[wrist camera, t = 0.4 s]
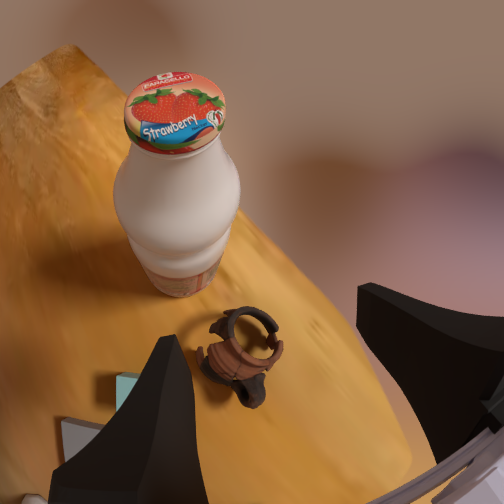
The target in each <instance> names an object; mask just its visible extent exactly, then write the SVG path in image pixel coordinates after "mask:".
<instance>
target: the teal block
mask: <svg viewBox="0 0 504 504" xmlns="http://www.w3.org/2000/svg"><path fill="white" fill-rule="evenodd" d="M139 376H140V374H138V373H130V372H124V373H122V374H119V375H117V376H116V412H117V411H118V409H119V408H120V407H121V405H122V404H123V402H124V401H125V399H126V398H127V396H128V395H129V393H130V391H131V390H132V388H133V386H134V385H135V383H136V382H137V380H138V378H139Z"/></svg>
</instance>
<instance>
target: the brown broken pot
mask: <svg viewBox="0 0 504 504" xmlns="http://www.w3.org/2000/svg"><path fill="white" fill-rule="evenodd" d="M223 313H224V314H226V315H227V316H228V317H223V318H220V319H219V320H218V321H217V322H215V323H213V324H212V325H211V327H210V329H209V333H216V334H217V335H219V336H220V337H221V338H222V339H224V341H222V342H218V343H214V344H210V345H209V347H208V349H207V353H208V356H206V357H205V358H204V354H203V347H202V346H199V347H198V349H197V351H196V359H197V363H198V365H199V367H200V369H201V371H202V372H203V374H204V375H205V376H206V377H207V378H209V379H210V380H212V381H213V382H216V383H219V384H223V385H227V386H231V388H232V389H233V390H234V391H235V392H236V394H237V396H238V398H239V400H240V402H241V404H242V405H243V406H245V407H248V408H251V409H255V408H257V407H258V406H259V405H261V404H262V403H263V402H264V400H265V395H266V394H265V387H264V379H265V374H264V373H261V372H263V371H264V369H265V370H266V371H269V370H270V369H271V368H272V366H273V365H274V363H275V362H276V361H277V360H278V359H279V358H280V356H281V354H282V351H283V341H281V340H279V341H278V340H277V337H276V334H275V332H277V331H278V329H279V327H278V325H277V324H276V322H275V321H274V320H273V319H272V318H271V317H270V316H269V315H268V314H267V313H265V312H264V311H262V310H259V309H257V308H255V307H249V306H245V307H241V308H238V309H231V310H226V311H223ZM241 315H250V316H253V317H254V318H256V319H258V320H259V321H260V322H261V323H262V324H263V325H264V327H265V328H266V330H267V332H268V333H269V335H268V337H267V339H266V343H267V344H268V346H269V348H270V349H271V350H273V349H274V352H273V354H272V356H271V357H269V358H267V359H257V358H254V357H252V356H250V355H249V354H247V353H246V352H245V351H243V349H242V348H241V347H240V345H239V344H238V342H237V340H236V338H235V336H234V324H235V321H236V319H237V318H238V317H239V316H241ZM234 377H236V379H238V380H233V378H234Z"/></svg>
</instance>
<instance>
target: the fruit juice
mask: <svg viewBox="0 0 504 504" xmlns="http://www.w3.org/2000/svg"><path fill="white" fill-rule="evenodd" d="M225 113H226V104H225V99H224V96H223V94H222V92H221V90H220V89H219V88H218V87H217V86H216V85H215V84H214V83H213V82H211V81H210V80H208V79H206V78H205V77H202V76H199V75H196V74H192V73H186V72H172V73H165V74H161V75H157V76H154V77H152V78H149V79H148V80H146V81H144V82H142V83H141V84H139V85H138V86H137V87H136V88H135V89H134V90H133V91H132V92H131V94H130V95H129V97H128V98H127V101H126V103H125V108H124V124H125V129H126V132H127V134H128V136H129V139H130V141H131V142H132V143H131V146H130V150H129V153H128V155H127V157H126V158H125V159H124V161H123V162H122V164H121V166H120V168H119V170H118V172H117V175H116V178H115V182H114V189H113V200H114V207H115V211H116V214H117V217H118V219H119V222H120V224H121V226H122V227H123V229H124V230H125V232H126V233H127V237H128V240H129V243H130V246H131V248H132V250H133V252H134V254H135V256H136V257H137V259H138V260H139V262H140V264H141V266H142V267H143V269H144V271H145V272H146V274H147V276H148V278H149V279H150V281H151V282H152V284H153V285H154V286H155V287H156V288H157V289H159V290H160V291H162V292H163V293H165V294H167V295H170V296H174V297H189V296H192V295H195V294H197V293H199V292H201V291H202V290H204V289H205V288H206V287H207V286H208V285H209V284H210V283H211V281H212V280H213V278H214V276H215V274H216V271H217V269H218V266H219V263H220V261H221V258H222V255H223V253H224V250H225V248H226V245H227V243H228V239H229V235H230V230H231V224H232V222H233V220H234V218H235V216H236V213H237V210H238V206H239V201H240V181H239V176H238V172H237V170H236V167H235V165H234V163H233V161H232V160H231V158H230V157H229V155H228V154H227V153H226V152H225V151H224V149H223V146H222V143H221V141H220V138H219V135H220V133H221V130H222V128H223V125H224V122H225Z"/></svg>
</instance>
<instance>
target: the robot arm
mask: <svg viewBox="0 0 504 504" xmlns="http://www.w3.org/2000/svg"><path fill="white" fill-rule="evenodd" d="M356 327H357V329H358V330H359V332H360V334H361V336H362V337H363V339H364V341H365V343H366V344H367V346H368V347H369V348H370V350H371V351H372V352H373V353H374V355H375V356H376V357H377V358H378V360H379V361H380V362H381V363H382V365H383V366H384V367H385V368H386V370H387V371H388V372H389V373H390V375H391V376H392V377H393V378H394V380H395V381H396V382H397V384H398V385H399V386H400V388H401V390H402V391H403V393H404V395H405V396H406V398H407V400H408V401H409V403H410V405H411V407H412V408H413V410H414V412H415V414H416V416H417V418H418V420H419V422H420V424H421V426H422V428H423V430H424V432H425V435H426V437H427V439H428V441H429V444H430V447H431V449H432V452H433V455H434V457H435V460H436V463H437V465H436V466H435V467H433V468H431V469H430V470H428V471H427V472H425V473H423V474H422V475H420V476H418V477H417V478H415V479H413V480H411V481H410V482H408V483H406V484H404V485H403V486H401V487H399V488H397V489H395V490H393V491H391V492H389V493H387V494H385V495H383V496H381V497H379V498H377V499H375V500H373V501H371V502H368V503H366V504H410V503H412V502H414V501H415V500H417V499H419V498H421V497H422V496H424V495H425V494H427V493H429V492H430V491H432V490H433V489H435V488H436V487H438V486H440V485H441V484H442V483H444V482H445V481H447V480H448V479H450V478H451V477H452V476H454V475H455V474H457V473H458V472H459V471H461V470H462V469H463V468H465V467H466V466H467V465H468V466H467V468H466V469H465V470H464V471H463V472H461V473H460V474H459V475H458V476H456V477H455V478H454V479H453V480H451V482H450V483H449V484H448V485H447V486H446V487H445V488H444V489H443V490H442V491H441V492H440V493H439V494H437V496H435V497H434V498H432V500H431V502H432V504H504V317H495V316H482V315H475V314H468V313H462V312H458V311H454V310H449V309H445V308H442V307H438V306H435V305H432V304H429V303H425V302H423V301H420V300H417V299H414V298H412V297H409V296H406V295H404V294H401V293H399V292H396V291H393V290H391V289H388V288H386V287H383V286H380V285H377V284H374V283H367V284H364V285H360V286H358V292H357V320H356ZM48 504H209V502H208V499H207V495H206V491H205V486H204V482H203V478H202V473H201V468H200V463H199V457H198V451H197V441H196V421H195V396H194V389H193V382H192V376H191V371H190V369H189V367H188V364H187V362H186V359H185V357H184V355H183V352H182V350H181V347H180V345H179V342H178V340H177V337H176V334H173V335H169V336H164V337H160V338H159V339H158V341H157V343H156V345H155V347H154V349H153V351H152V353H151V355H150V357H149V359H148V361H147V363H146V365H145V367H144V369H143V371H142V372H141V374H140V376H139V378H138V380H137V382H136V383H135V385H134V386H133V388H132V390H131V391H130V393H129V395H128V396H127V398H126V399H125V401H124V402H123V404H122V405H121V407H120V408H119V409H118V411H117V412H116V413H115V415H114V416H113V417H112V418H111V419H110V421H109V422H108V423H107V424H106V425H105V426H104V427H103V428H102V430H101V431H100V432H99V433H98V434H97V435H96V436H95V437H94V438H93V439H92V440H91V441H90V442H89V443H88V444H87V445H86V446H85V447H84V448H83V449H81V450H80V451H79V452H78V453H77V454H76V455H74V456H73V457H72V458H70V459H69V460H68V461H66V462H65V463H64V464H62V465H61V466H60V467H58V468H57V469H55V470H54V471H53V474H52V479H51V485H50V491H49V498H48Z"/></svg>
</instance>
